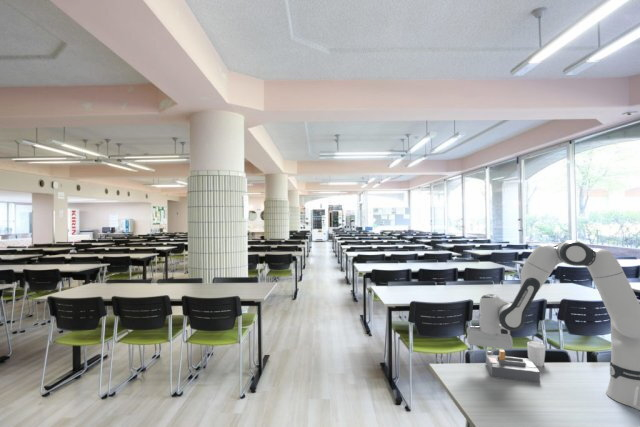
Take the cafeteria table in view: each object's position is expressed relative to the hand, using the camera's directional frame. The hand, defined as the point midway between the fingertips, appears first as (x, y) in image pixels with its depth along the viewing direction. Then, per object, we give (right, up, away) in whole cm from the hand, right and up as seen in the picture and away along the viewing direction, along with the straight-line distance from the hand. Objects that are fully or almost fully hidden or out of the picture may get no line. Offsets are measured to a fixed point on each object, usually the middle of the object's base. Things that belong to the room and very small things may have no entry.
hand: (489, 355), depth 165 cm
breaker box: (+9, -8, -3) cm, 12 cm away
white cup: (+28, -8, +7) cm, 29 cm away
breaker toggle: (+5, -2, -1) cm, 6 cm away
